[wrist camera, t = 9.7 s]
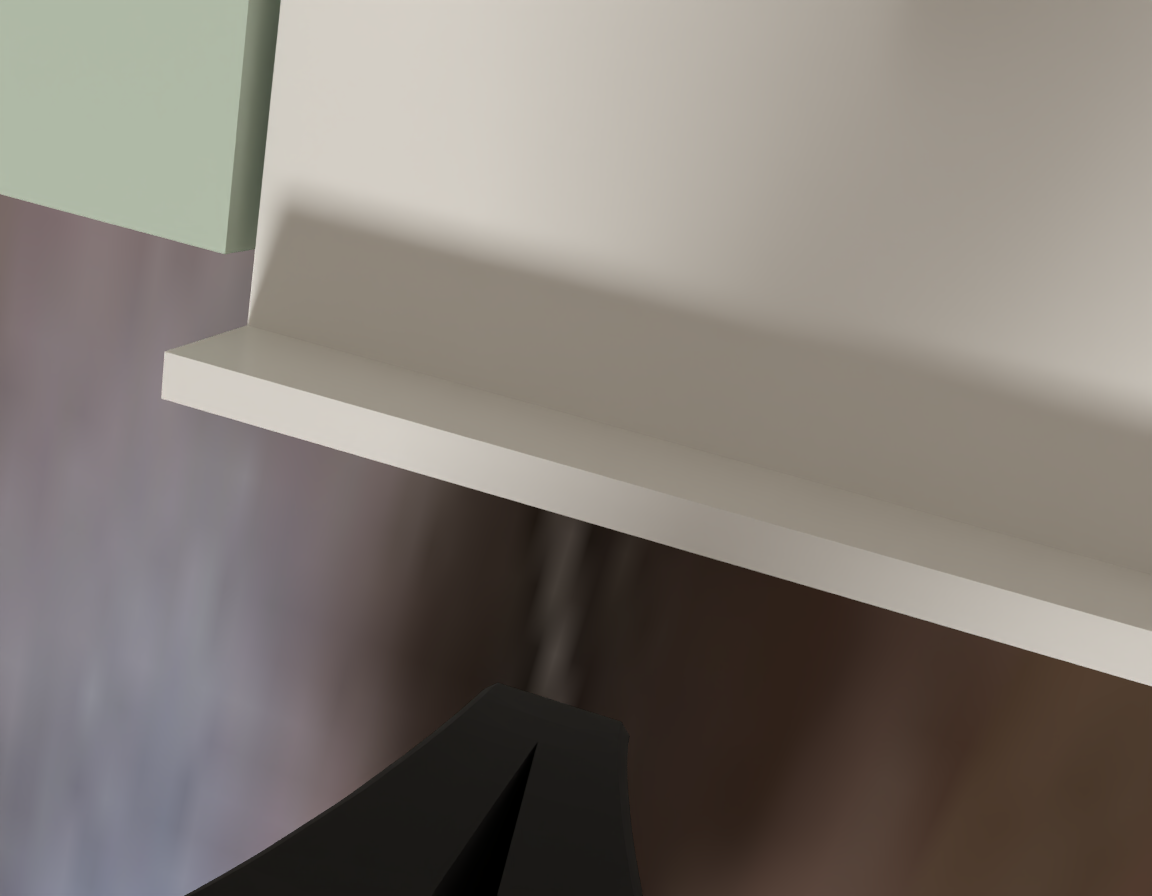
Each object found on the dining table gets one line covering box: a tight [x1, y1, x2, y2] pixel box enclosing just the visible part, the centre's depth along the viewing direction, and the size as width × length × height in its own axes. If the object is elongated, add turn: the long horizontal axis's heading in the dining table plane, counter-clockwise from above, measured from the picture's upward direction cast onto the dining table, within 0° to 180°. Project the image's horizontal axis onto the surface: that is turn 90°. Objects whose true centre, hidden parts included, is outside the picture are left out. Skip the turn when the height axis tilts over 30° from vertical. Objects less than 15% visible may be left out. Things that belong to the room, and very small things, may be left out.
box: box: [161, 0, 1152, 686], centre depth 14 cm, size 12×21×4 cm, turn 78°
